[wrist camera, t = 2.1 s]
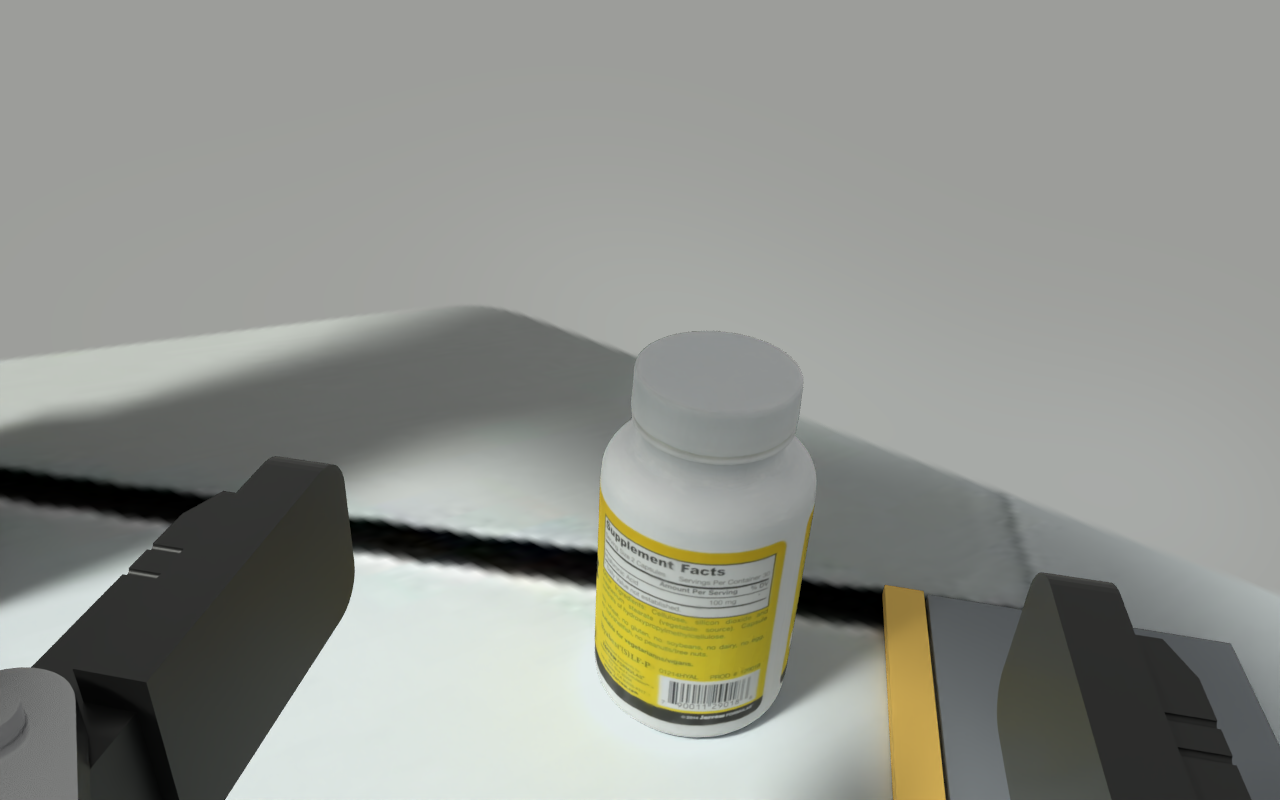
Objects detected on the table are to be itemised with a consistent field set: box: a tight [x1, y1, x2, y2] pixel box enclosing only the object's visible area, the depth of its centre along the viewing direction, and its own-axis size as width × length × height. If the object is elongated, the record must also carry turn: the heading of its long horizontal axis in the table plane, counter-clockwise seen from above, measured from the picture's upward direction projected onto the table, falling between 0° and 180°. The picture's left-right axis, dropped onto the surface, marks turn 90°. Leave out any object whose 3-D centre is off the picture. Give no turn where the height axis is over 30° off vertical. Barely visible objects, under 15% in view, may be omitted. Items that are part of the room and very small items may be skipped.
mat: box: [882, 585, 1280, 800], centre depth 26 cm, size 10×9×1 cm
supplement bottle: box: [595, 331, 817, 737], centre depth 25 cm, size 5×5×10 cm
